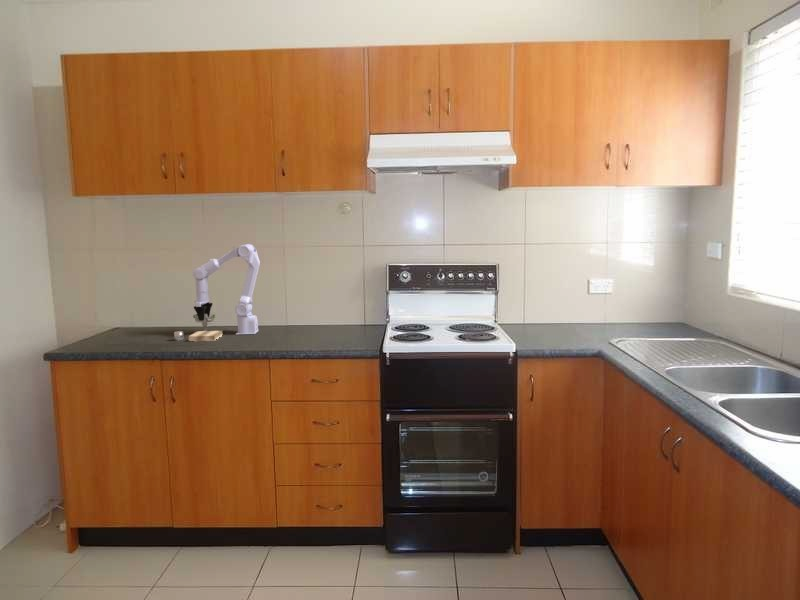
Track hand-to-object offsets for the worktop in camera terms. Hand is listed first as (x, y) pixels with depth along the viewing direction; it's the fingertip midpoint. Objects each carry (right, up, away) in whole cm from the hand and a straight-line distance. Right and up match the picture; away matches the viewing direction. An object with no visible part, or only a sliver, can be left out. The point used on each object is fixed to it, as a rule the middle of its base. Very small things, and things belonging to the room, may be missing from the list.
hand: (204, 319), depth 271 cm
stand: (+4, -9, -10) cm, 14 cm away
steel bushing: (-8, -10, -12) cm, 17 cm away
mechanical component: (0, -8, +1) cm, 8 cm away
